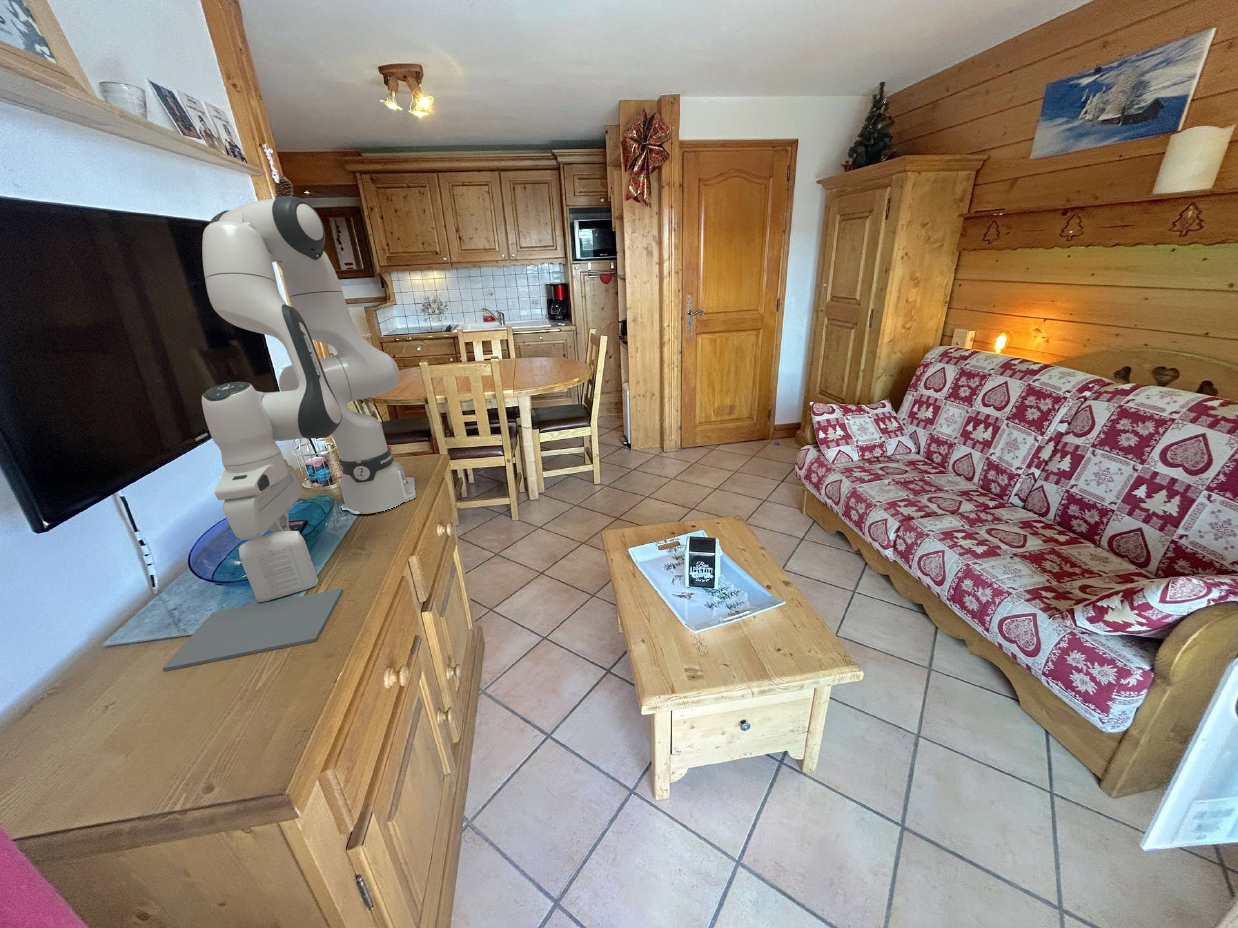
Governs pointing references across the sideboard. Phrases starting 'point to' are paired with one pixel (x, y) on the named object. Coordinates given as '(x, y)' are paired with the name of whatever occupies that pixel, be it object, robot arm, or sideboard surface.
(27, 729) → the sideboard surface
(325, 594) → the mat
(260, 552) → the photo printer
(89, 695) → the sideboard surface
